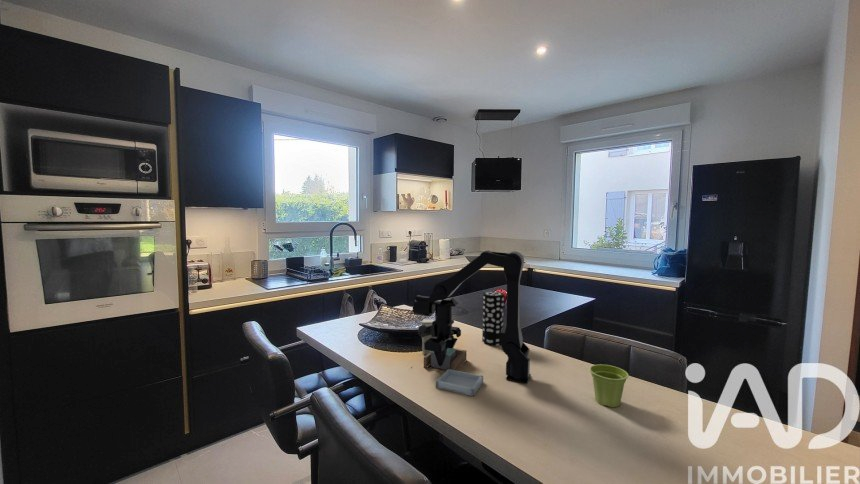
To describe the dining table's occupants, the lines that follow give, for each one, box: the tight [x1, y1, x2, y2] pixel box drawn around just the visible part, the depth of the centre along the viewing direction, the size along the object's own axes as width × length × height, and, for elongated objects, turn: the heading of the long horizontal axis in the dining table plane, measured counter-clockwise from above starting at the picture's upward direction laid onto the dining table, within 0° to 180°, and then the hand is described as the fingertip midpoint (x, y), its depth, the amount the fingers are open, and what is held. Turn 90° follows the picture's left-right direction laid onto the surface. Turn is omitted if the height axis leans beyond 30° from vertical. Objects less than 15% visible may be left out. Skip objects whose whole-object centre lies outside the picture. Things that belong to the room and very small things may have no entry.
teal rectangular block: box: [430, 347, 457, 371], centre depth 119 cm, size 7×5×6 cm
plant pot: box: [589, 363, 629, 408], centre depth 96 cm, size 9×9×9 cm
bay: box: [423, 347, 467, 371], centre depth 121 cm, size 11×12×4 cm
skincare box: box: [421, 318, 436, 355], centre depth 131 cm, size 6×4×12 cm
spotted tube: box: [481, 291, 505, 347], centre depth 142 cm, size 8×8×20 cm
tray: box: [435, 369, 484, 397], centre depth 106 cm, size 12×10×2 cm
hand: (443, 362), depth 120 cm, fingers closed on teal rectangular block, 5 cm apart
